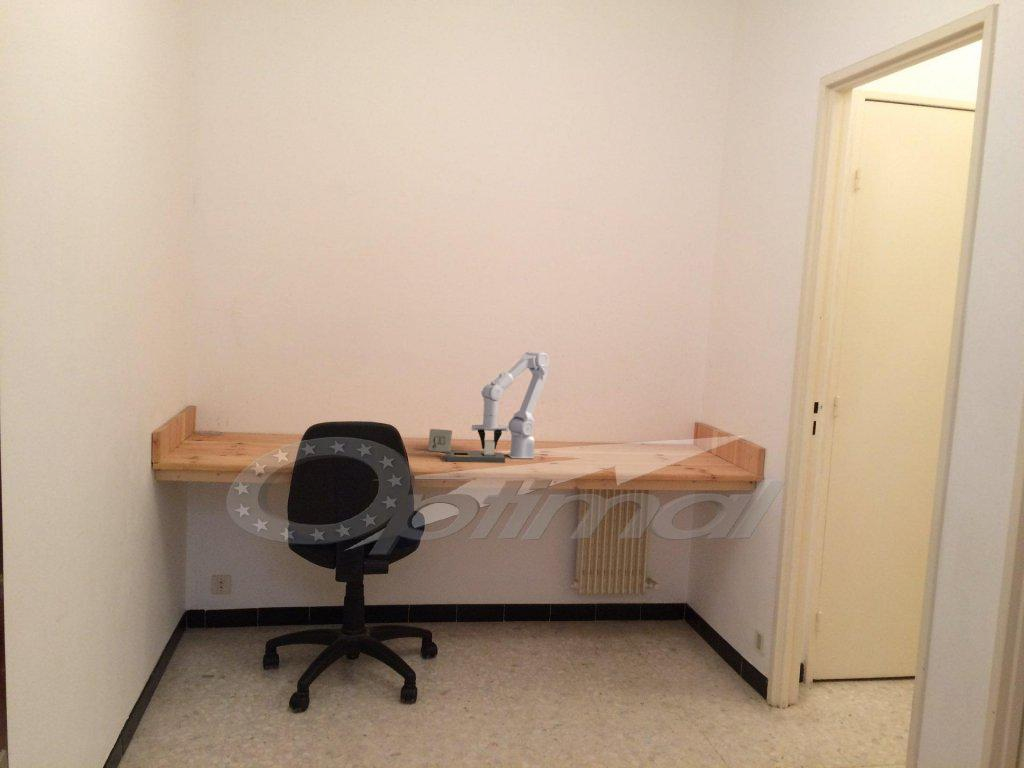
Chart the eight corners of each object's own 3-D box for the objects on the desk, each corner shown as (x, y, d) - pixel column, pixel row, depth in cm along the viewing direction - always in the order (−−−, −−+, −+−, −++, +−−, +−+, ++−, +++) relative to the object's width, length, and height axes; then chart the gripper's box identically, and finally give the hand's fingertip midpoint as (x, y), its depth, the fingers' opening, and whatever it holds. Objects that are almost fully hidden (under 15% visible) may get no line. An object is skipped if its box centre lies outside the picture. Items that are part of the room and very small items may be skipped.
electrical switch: (427, 451, 326) (429, 429, 326) (429, 450, 331) (431, 428, 331) (449, 453, 325) (451, 430, 325) (451, 452, 331) (453, 430, 330)
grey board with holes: (500, 457, 322) (501, 452, 322) (504, 462, 313) (505, 457, 312) (444, 456, 318) (444, 450, 318) (447, 461, 308) (447, 456, 308)
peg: (492, 454, 318) (493, 440, 318) (494, 456, 315) (494, 442, 314) (482, 454, 318) (483, 439, 317) (484, 456, 314) (485, 441, 313)
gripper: (506, 413, 320) (504, 446, 321) (471, 412, 317) (469, 446, 318) (509, 416, 313) (507, 450, 314) (473, 415, 310) (471, 449, 312)
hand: (488, 448), depth 316 cm, fingers closed on peg, 4 cm apart
